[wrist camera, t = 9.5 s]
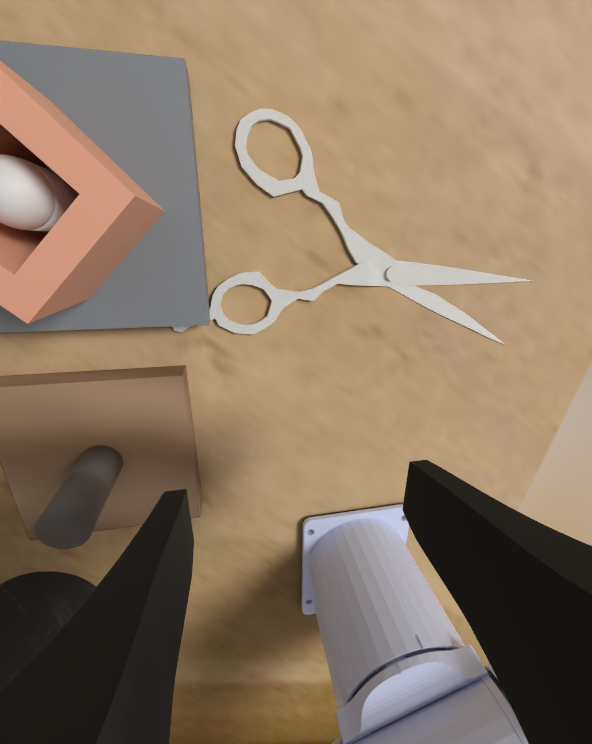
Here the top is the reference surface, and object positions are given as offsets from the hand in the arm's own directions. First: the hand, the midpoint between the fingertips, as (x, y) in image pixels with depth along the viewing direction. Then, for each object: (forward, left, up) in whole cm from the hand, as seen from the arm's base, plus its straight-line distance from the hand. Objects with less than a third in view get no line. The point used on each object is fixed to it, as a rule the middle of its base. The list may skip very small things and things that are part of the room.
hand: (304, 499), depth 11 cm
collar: (+9, +8, -8) cm, 14 cm away
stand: (-3, +9, -9) cm, 13 cm away
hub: (+9, +8, -9) cm, 15 cm away
